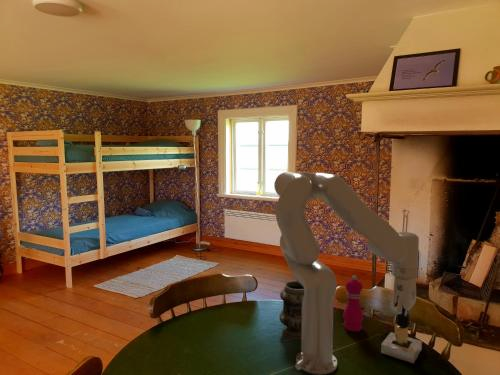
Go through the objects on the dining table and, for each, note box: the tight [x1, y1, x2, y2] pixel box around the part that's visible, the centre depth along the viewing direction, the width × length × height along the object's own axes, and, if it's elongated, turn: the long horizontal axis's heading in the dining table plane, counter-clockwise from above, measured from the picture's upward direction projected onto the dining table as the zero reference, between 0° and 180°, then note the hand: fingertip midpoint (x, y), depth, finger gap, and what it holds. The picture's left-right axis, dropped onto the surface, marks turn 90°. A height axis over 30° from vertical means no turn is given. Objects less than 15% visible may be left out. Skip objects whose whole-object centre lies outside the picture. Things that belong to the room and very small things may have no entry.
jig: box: [380, 331, 423, 364], centre depth 122 cm, size 10×10×3 cm
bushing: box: [394, 323, 409, 348], centre depth 122 cm, size 4×4×8 cm
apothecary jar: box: [279, 280, 304, 340], centre depth 134 cm, size 12×12×18 cm
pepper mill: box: [342, 274, 364, 332], centre depth 137 cm, size 7×7×20 cm
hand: (402, 325), depth 121 cm, fingers closed
